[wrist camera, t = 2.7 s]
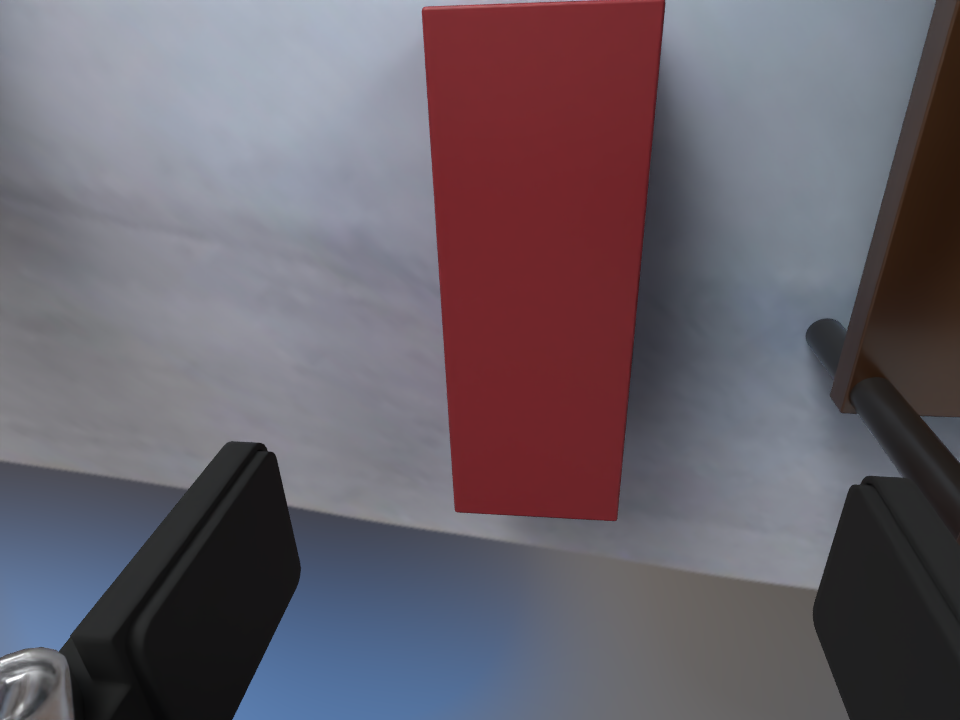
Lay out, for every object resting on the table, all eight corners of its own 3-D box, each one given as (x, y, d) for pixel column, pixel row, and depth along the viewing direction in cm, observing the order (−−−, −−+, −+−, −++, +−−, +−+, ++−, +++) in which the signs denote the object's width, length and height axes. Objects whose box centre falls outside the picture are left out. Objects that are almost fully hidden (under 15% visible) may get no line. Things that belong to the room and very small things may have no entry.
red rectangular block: (472, 431, 26) (454, 513, 22) (452, 5, 19) (420, 6, 15) (608, 436, 25) (617, 522, 21) (643, -2, 18) (666, -3, 14)
